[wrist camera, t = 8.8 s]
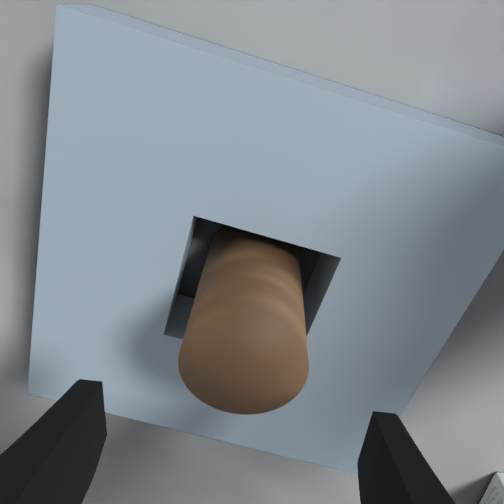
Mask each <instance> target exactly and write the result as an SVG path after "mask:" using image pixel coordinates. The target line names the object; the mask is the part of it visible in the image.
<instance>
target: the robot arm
mask: <svg viewBox="0 0 504 504" xmlns="http://www.w3.org/2000/svg"><path fill="white" fill-rule="evenodd" d="M106 436H107V432H106V420H105V408H104V395H103V383H102V381H92V380H83V379H79V380H78V381H76V382H75V383H74V384H73V385H72V386H71V387H70V388H69V389H68V390H67V391H66V392H65V394H64V395H63V396H62V397H61V398H60V399H59V400H58V401H57V402H56V403H55V404H54V405H53V406H52V407H51V408H50V409H49V410H48V411H47V412H46V413H45V414H44V415H43V416H42V417H41V418H40V419H39V420H38V421H37V422H36V423H34V424H33V425H32V426H31V427H30V428H29V429H28V430H27V431H26V432H25V433H24V434H23V435H22V436H21V437H20V438H19V439H18V440H17V441H15V442H14V443H13V444H12V445H11V446H10V447H9V448H8V449H7V450H5V451H4V452H3V453H2V454H1V455H0V504H82V502H83V499H84V497H85V495H86V492H87V490H88V488H89V486H90V483H91V481H92V479H93V476H94V474H95V471H96V468H97V465H98V462H99V459H100V456H101V452H102V449H103V446H104V442H105V439H106ZM357 466H358V478H359V490H360V500H361V504H456V503H455V502H454V501H453V499H452V498H451V497H450V495H449V494H448V492H447V491H446V489H445V488H444V486H443V485H442V484H441V482H440V481H439V479H438V478H437V476H436V475H435V473H434V472H433V470H432V469H431V467H430V466H429V464H428V463H427V461H426V460H425V458H424V457H423V455H422V454H421V452H420V451H419V449H418V447H417V446H416V444H415V443H414V441H413V439H412V438H411V436H410V435H409V433H408V431H407V430H406V428H405V427H404V425H403V423H402V422H401V420H400V418H399V417H398V416H397V414H395V413H386V412H377V411H373V412H372V415H371V419H370V422H369V425H368V429H367V432H366V435H365V438H364V442H363V445H362V448H361V452H360V455H359V458H358V462H357Z"/></svg>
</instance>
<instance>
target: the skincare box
mask: <svg viewBox="0 0 504 504" xmlns="http://www.w3.org/2000/svg"><path fill="white" fill-rule="evenodd" d="M479 504H504V473H500V472H497V473H495V475H494V476H493V478H492V480H491V482H490V484H489V486H488V488H487V490H486V492H485V493H484V495H483V497H482V499H481V501H480V503H479Z"/></svg>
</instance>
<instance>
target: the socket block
mask: <svg viewBox="0 0 504 504" xmlns="http://www.w3.org/2000/svg"><path fill="white" fill-rule="evenodd" d="M198 217H200V218H203V219H207V220H210V221H214V222H217V223H221V224H224V225H228V226H231V227H235V228H238V229H242V230H245V231H249V232H252V233H256V234H259V235H263V236H266V237H270V238H273V239H277V240H280V241H284V242H287V243H291V244H294V245H298V246H301V247H305V248H308V249H312V250H315V251H319V252H321V253H320V256H319V258H318V261H317V263H316V265H315V268H314V270H313V273H312V275H311V277H310V280H309V282H308V285H307V287H306V290H305V292H304V294H303V303H304V315H305V326H306V338H307V349H308V361H309V372H308V377H307V381H306V383H305V385H304V387H303V388H302V390H301V391H300V393H299V394H298V395H297V396H296V397H295V398H294V399H293V400H291V401H290V402H289V403H287V404H286V405H284V406H282V407H280V408H278V409H276V410H273V411H270V412H266V413H261V414H253V415H242V414H233V413H228V412H224V411H221V410H218V409H215V408H213V407H211V406H209V405H207V404H205V403H204V402H202V401H200V400H199V399H198V398H197V397H195V396H194V395H193V394H192V393H191V392H190V391H189V389H188V388H187V387H186V385H185V384H184V382H183V380H182V378H181V375H180V372H179V368H178V357H179V352H180V348H181V345H182V341H183V338H184V334H185V331H186V327H187V324H188V320H189V317H190V313H191V310H192V306H193V303H194V298H190V297H187V296H183V295H179V294H178V292H179V288H180V284H181V280H182V276H183V273H184V269H185V265H186V261H187V257H188V253H189V249H190V245H191V241H192V237H193V234H194V230H195V226H196V222H197V218H198ZM503 251H504V137H503V136H500V135H497V134H494V133H490V132H487V131H484V130H481V129H478V128H475V127H472V126H469V125H465V124H462V123H459V122H456V121H453V120H450V119H447V118H444V117H441V116H437V115H434V114H431V113H428V112H425V111H422V110H419V109H416V108H412V107H409V106H406V105H403V104H400V103H397V102H394V101H391V100H388V99H384V98H381V97H378V96H375V95H372V94H369V93H366V92H363V91H359V90H356V89H353V88H350V87H347V86H344V85H341V84H338V83H335V82H331V81H328V80H325V79H322V78H319V77H316V76H313V75H310V74H306V73H303V72H300V71H297V70H294V69H291V68H288V67H285V66H282V65H278V64H275V63H272V62H269V61H266V60H263V59H260V58H257V57H253V56H250V55H247V54H244V53H241V52H238V51H235V50H232V49H228V48H225V47H222V46H219V45H216V44H213V43H210V42H207V41H204V40H200V39H197V38H194V37H191V36H188V35H185V34H182V33H179V32H175V31H172V30H169V29H166V28H163V27H160V26H157V25H154V24H151V23H147V22H144V21H141V20H138V19H135V18H132V17H129V16H126V15H122V14H119V13H116V12H113V11H110V10H107V9H104V8H101V7H98V6H94V5H57V7H56V20H55V33H54V46H53V60H52V73H51V86H50V99H49V112H48V125H47V139H46V152H45V165H44V178H43V191H42V205H41V218H40V231H39V244H38V257H37V271H36V284H35V297H34V310H33V323H32V336H31V350H30V363H29V376H28V389H27V394H31V395H35V396H39V397H43V398H47V399H51V400H55V401H58V400H59V399H60V398H61V397H62V396H63V395H64V394H65V392H66V391H67V390H68V389H69V388H70V387H71V386H72V385H73V384H74V383H75V382H76V381H78V380H79V379H83V380H92V381H102V383H103V395H104V408H105V413H109V414H113V415H117V416H121V417H125V418H129V419H133V420H138V421H142V422H146V423H150V424H154V425H158V426H162V427H166V428H170V429H175V430H179V431H183V432H187V433H191V434H195V435H199V436H203V437H207V438H212V439H216V440H220V441H224V442H228V443H232V444H236V445H240V446H244V447H249V448H253V449H257V450H261V451H265V452H269V453H273V454H277V455H281V456H286V457H290V458H294V459H298V460H302V461H306V462H310V463H314V464H318V465H323V466H327V467H331V468H335V469H339V470H343V471H347V472H351V473H355V474H358V466H357V462H358V458H359V455H360V452H361V448H362V445H363V442H364V438H365V435H366V432H367V429H368V425H369V422H370V419H371V415H372V412H373V411H377V412H386V413H395V414H397V416H398V417H399V415H400V414H401V412H402V411H403V409H404V407H405V406H406V404H407V403H408V401H409V400H410V398H411V396H412V395H413V393H414V392H415V390H416V388H417V387H418V385H419V384H420V382H421V381H422V379H423V377H424V376H425V374H426V373H427V371H428V369H429V368H430V366H431V365H432V363H433V362H434V360H435V358H436V357H437V355H438V354H439V352H440V350H441V349H442V347H443V346H444V344H445V343H446V341H447V339H448V338H449V336H450V335H451V333H452V331H453V330H454V328H455V327H456V325H457V324H458V322H459V320H460V319H461V317H462V316H463V314H464V312H465V311H466V309H467V308H468V306H469V305H470V303H471V301H472V300H473V298H474V297H475V295H476V293H477V292H478V290H479V289H480V287H481V286H482V284H483V282H484V281H485V279H486V278H487V276H488V275H489V273H490V271H491V270H492V268H493V267H494V265H495V263H496V262H497V260H498V259H499V257H500V256H501V254H502V252H503Z"/></svg>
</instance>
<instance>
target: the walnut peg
mask: <svg viewBox="0 0 504 504" xmlns="http://www.w3.org/2000/svg"><path fill="white" fill-rule="evenodd" d="M178 368H179V372H180V375H181V378H182V380H183V382H184V384H185V385H186V387H187V388H188V389H189V391H190V392H191V393H192V394H193V395H194V396H195V397H197V398H198V399H199V400H200V401H202V402H204V403H205V404H207V405H209V406H211V407H213V408H215V409H218V410H221V411H224V412H228V413H233V414H242V415H253V414H261V413H266V412H270V411H273V410H276V409H278V408H280V407H282V406H284V405H286V404H287V403H289V402H290V401H291V400H293V399H294V398H295V397H296V396H297V395H298V394H299V393H300V391H301V390H302V388H303V387H304V385H305V383H306V381H307V377H308V372H309V361H308V349H307V338H306V326H305V315H304V303H303V292H302V280H301V269H300V257H299V250H298V246H297V245H294V244H291V243H287V242H284V241H280V240H277V239H273V238H270V237H266V236H263V235H259V234H256V233H252V232H249V231H245V230H242V229H238V228H235V227H231V226H228V225H224V226H222V227H221V228H220V229H219V230H218V231H217V232H216V234H215V235H214V237H213V239H212V241H211V243H210V247H209V250H208V254H207V257H206V261H205V264H204V268H203V271H202V275H201V278H200V282H199V285H198V289H197V292H196V296H195V299H194V303H193V306H192V310H191V313H190V317H189V320H188V324H187V327H186V331H185V334H184V338H183V341H182V345H181V348H180V352H179V357H178Z"/></svg>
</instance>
